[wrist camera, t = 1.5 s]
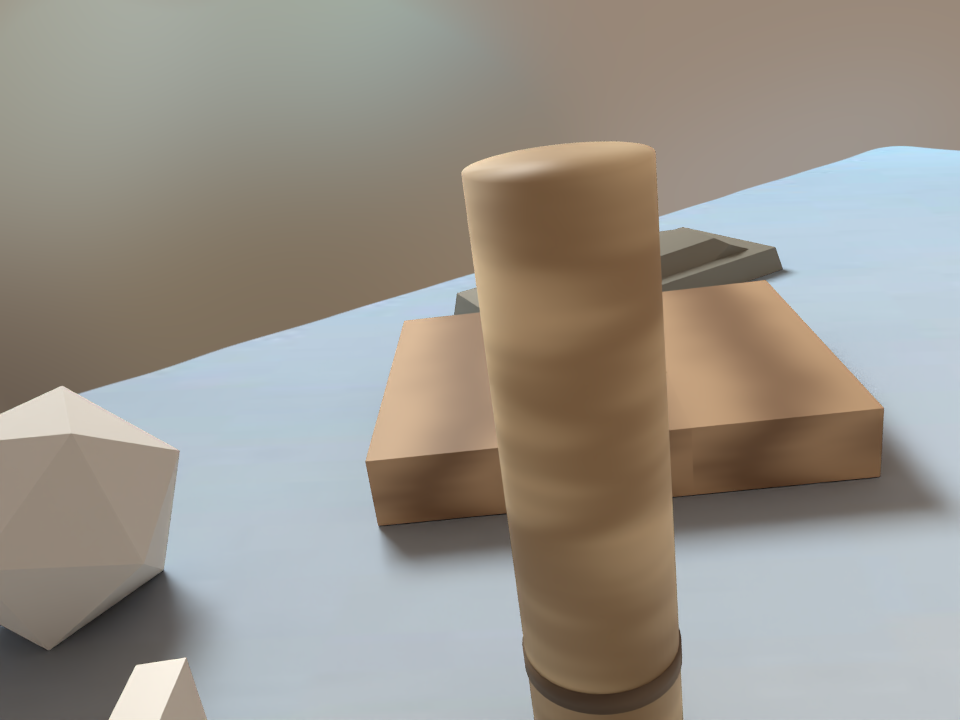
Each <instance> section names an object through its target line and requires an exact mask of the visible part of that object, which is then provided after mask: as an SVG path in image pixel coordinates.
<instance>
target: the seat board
mask: <svg viewBox="0 0 960 720" xmlns="http://www.w3.org/2000/svg"><path fill="white" fill-rule="evenodd" d="M662 297H663V318H664V338H665V359H666V379H667V400H668V420H669V441H670V461H671V482H672V497H677V496H687V495H697V494H707V493H718V492H728V491H738V490H748V489H758V488H769V487H779V486H789V485H799V484H809V483H820V482H830V481H840V480H850V479H860V478H871V477H880V471H881V453H882V435H883V417H884V408H883V407H882V405H881V404H880V403H879V402H878V401H877V400H876V399H875V398H874V397H873V396H872V395H871V394H870V392H869V391H868V390H867V389H866V388H865V387H864V386H863V385H862V384H861V383H860V382H859V381H858V379H857V378H856V377H855V376H854V375H853V374H852V373H851V372H850V371H849V370H848V369H847V368H846V366H845V365H844V364H843V363H842V362H841V361H840V360H839V359H838V358H837V357H836V356H835V355H834V353H833V352H832V351H831V350H830V349H829V348H828V347H827V346H826V345H825V344H824V343H823V342H822V340H821V339H820V338H819V337H818V336H817V335H816V334H815V333H814V332H813V331H812V330H811V329H810V327H809V326H808V325H807V324H806V323H805V322H804V321H803V320H802V319H801V318H800V317H799V316H798V314H797V313H796V312H795V311H794V310H793V309H792V308H791V307H790V306H789V305H788V304H787V303H786V301H785V300H784V299H783V298H782V297H781V296H780V295H779V294H778V293H777V292H776V291H775V290H774V289H773V287H772V286H771V285H770V284H769V283H768V282H767V281H766V280H762V281H753V282H744V283H736V284H727V285H718V286H709V287H700V288H691V289H682V290H674V291H665V292H662ZM365 462H366V467H367V472H368V477H369V482H370V487H371V492H372V497H373V502H374V507H375V512H376V517H377V522H378V526H381V525H391V524H401V523H412V522H422V521H432V520H442V519H452V518H463V517H473V516H483V515H493V514H503V513H507V511H506V503H505V496H504V488H503V481H502V473H501V466H500V458H499V451H498V443H497V436H496V428H495V421H494V413H493V406H492V398H491V391H490V383H489V376H488V368H487V361H486V353H485V346H484V338H483V331H482V323H481V316H480V312H479V313H470V314H461V315H452V316H443V317H434V318H425V319H417V320H408V321H404V324H403V327H402V331H401V335H400V338H399V342H398V345H397V349H396V353H395V356H394V360H393V364H392V367H391V371H390V374H389V378H388V382H387V385H386V389H385V392H384V396H383V400H382V403H381V407H380V410H379V414H378V418H377V421H376V425H375V429H374V432H373V436H372V439H371V443H370V447H369V450H368V454H367V457H366V461H365Z"/></svg>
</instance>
